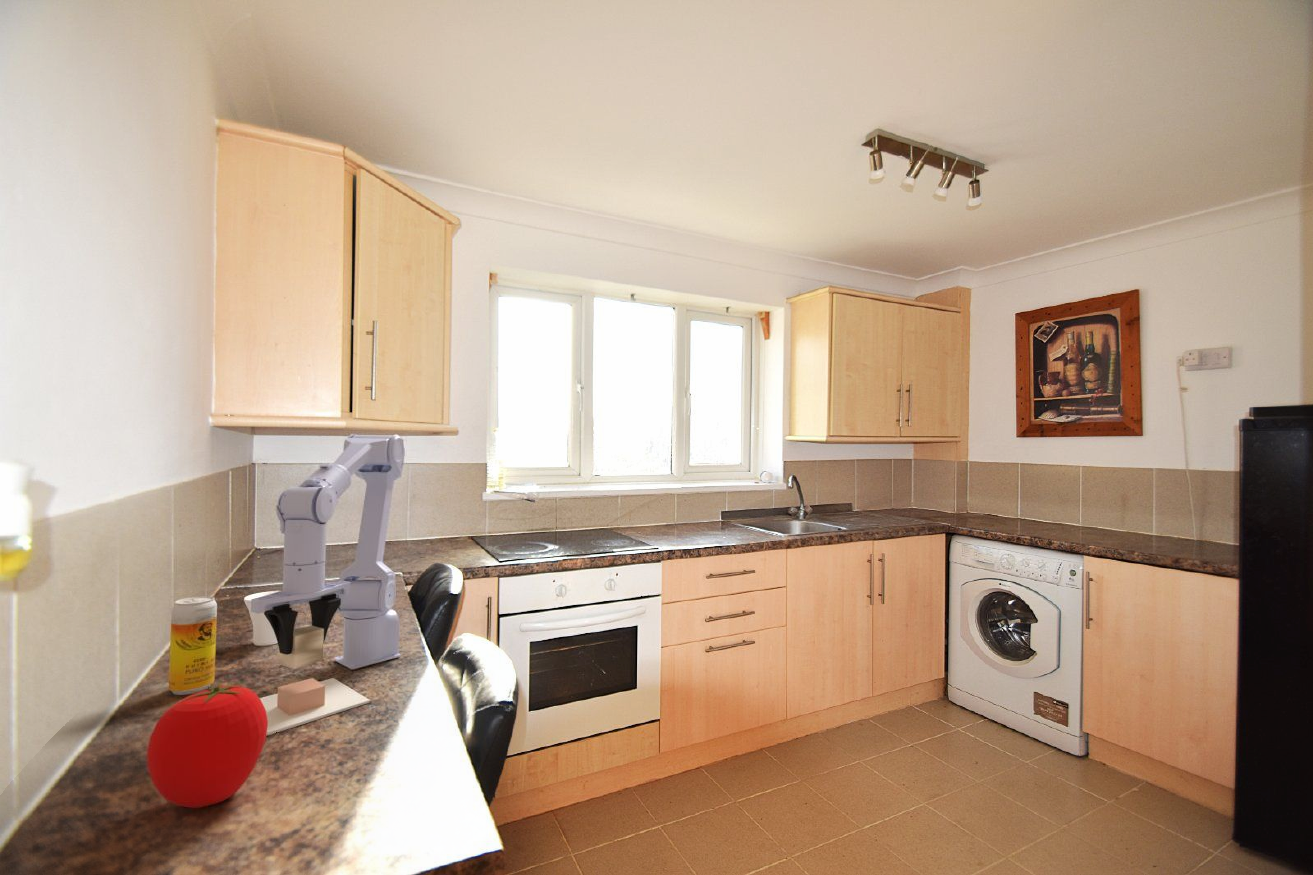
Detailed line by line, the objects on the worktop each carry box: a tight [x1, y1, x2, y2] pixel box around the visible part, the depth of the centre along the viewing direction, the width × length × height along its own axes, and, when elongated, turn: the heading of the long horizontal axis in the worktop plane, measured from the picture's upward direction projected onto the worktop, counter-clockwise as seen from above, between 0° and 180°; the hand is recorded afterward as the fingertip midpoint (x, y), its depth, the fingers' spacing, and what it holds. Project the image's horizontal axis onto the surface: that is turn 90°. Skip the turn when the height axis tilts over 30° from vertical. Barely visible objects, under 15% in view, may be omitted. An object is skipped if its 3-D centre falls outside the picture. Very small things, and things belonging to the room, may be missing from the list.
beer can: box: [168, 595, 218, 696], centre depth 99 cm, size 6×6×15 cm
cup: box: [243, 590, 280, 647], centre depth 123 cm, size 9×9×10 cm
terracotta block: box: [277, 677, 325, 716], centre depth 92 cm, size 5×5×3 cm
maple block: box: [277, 624, 324, 670], centre depth 92 cm, size 4×4×5 cm
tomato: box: [146, 682, 268, 809], centre depth 68 cm, size 11×11×13 cm
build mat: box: [259, 677, 371, 737], centre depth 92 cm, size 16×14×1 cm
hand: (302, 648), depth 92 cm, fingers closed on maple block, 4 cm apart
